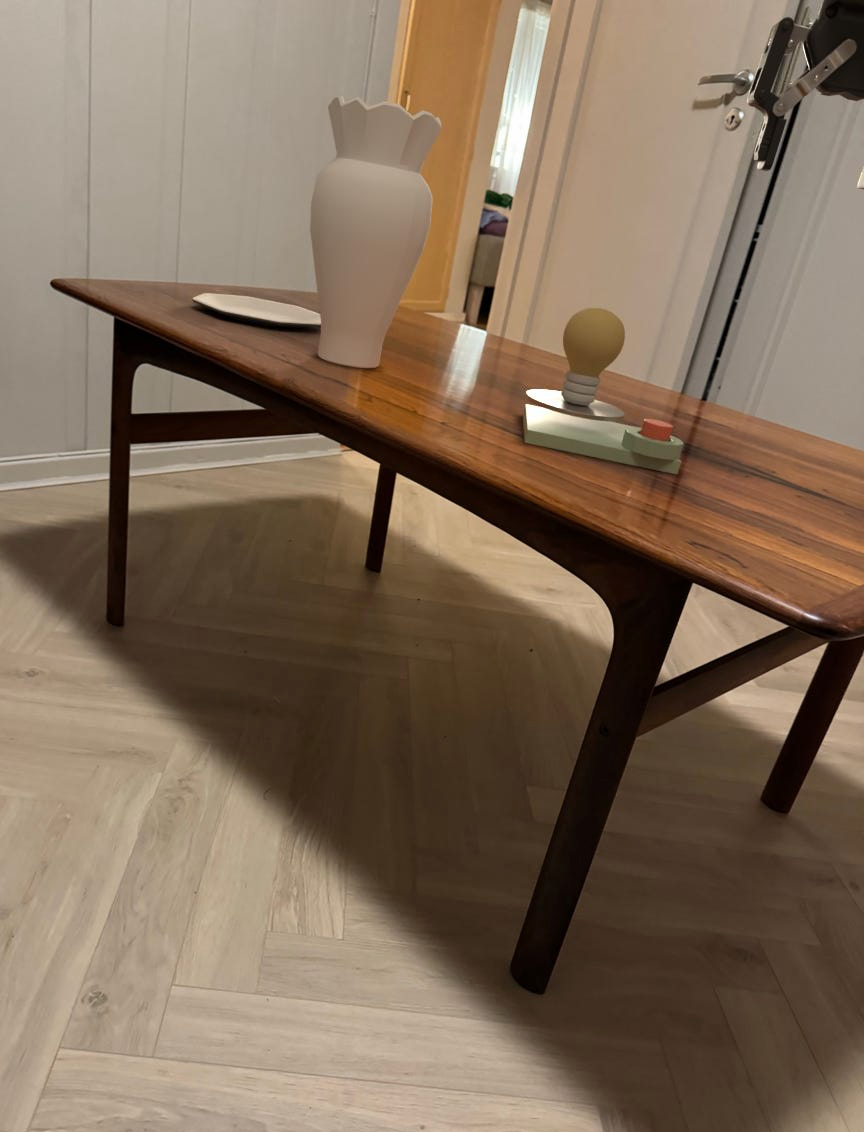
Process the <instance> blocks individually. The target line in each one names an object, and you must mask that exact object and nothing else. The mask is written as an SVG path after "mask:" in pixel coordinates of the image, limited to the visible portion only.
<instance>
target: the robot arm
mask: <svg viewBox="0 0 864 1132" xmlns="http://www.w3.org/2000/svg"><path fill="white" fill-rule="evenodd" d="M798 44H802V49H803V51H804V52H803V53H804V55H805V56H804V57H805V59H806V63H807V66H808V67H807V69H806V70H805V71H804V72H803V73H801V75H799V77H797V78H796V79H795V80H794V81H793V82H791V84H790V85H789V86H788V87H787V88H786V89H785V90H784V91H783V92H781V93H780V94H779V95H776V94H774V93H773V92H772V89H773V86H774V84H775V82H776V78H777V75H778V72H779V70H780V67H781V64H782V62H783V58H784V57H786V56H788V55H789V54H791V53H793V52H794V51H795V49H796V47H797V46H798ZM813 90H816V91H817V92H819V95H821V96H825V97H833V96H834V97H835V96H841V97H843V98H844V99H846V100H848V101H853V102H854V101H855V102H859V101H862V100H864V0H822V2H821V4H820V7H819V11H818V13H817V17H816V19H815V21H814V22H813V24H812V25H811V26H805V25H801V24H798V23H795V21H794V18H792V17H790V16H786V17H783V18H782V19H781V20H779V21H778V22H776V23H775V24H774V25H773V26H772V27H771V29H770V32H769V34H768V38H767V40H766V43H765V46H764V48H763V52H762V54H761V58H760V60H759V63H758V65H757V69H756V71H755V74H754V76H753V80H752V82H751V86H750V87H749V91H748V93H747V97H746V103H747V105H748V106H750V107H751V108H752V107H753V108H755V109H756V110H758V111H759V112H760V113H761V114H762V115H763V123H762V125H761V129H760V131H759V132H760V133H759V135H758V138H757V142H756V146H755V149H754V152H753V161H755V162H758V164H757V170H758V171H764V172H768V171H771V170H772V168H773V166H774V162H775V159H776V155H777V153H778V149H779V146H780V143H781V139H782V136H783V134H784V131H785V127H786V124H787V122H788V119H786V118H785V116H786V114H787V113H788V112H789V111H790V110H792V109H793V108H794V107H795V106H796V105H797V104H798V103H799V102H800V101H801V100H803V99H804V98H805V97H806V96H808V95H809V94H811V92H812V91H813ZM857 189H859V190H864V167H863V168H862V170H861V174H860V176H859V179H858V182H857Z"/></svg>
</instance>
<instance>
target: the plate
mask: <svg viewBox="0 0 864 1132" xmlns="http://www.w3.org/2000/svg"><path fill="white" fill-rule="evenodd" d="M191 301H192V302H193V303H194V304H197V305H199V306H201V307H204V308H207V309H209V310H212V311H214V312H216V313H217V314H221V315H222V316H223V315H224V316H226V317H228V318H230V319H233V320H237V321H241V322H246V323H251V324H256V325H262V326H266V327H274V328H288V329H289V328H291V329H303V328H309V327H312V328H313V327H315V328H321V318H320V313H318V312H316V311H313V310H310V309H307V308H304V307H302V306H299V305H294V304H290V303H289V304H288V303H283V302H278V301H273V300H268V299H263V298H258V297H253V296H246V295H235V294H223V293H212V292H204V293H201V294H199V295H196V296H194V297H192V298H191Z"/></svg>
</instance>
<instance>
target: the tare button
mask: <svg viewBox="0 0 864 1132" xmlns="http://www.w3.org/2000/svg"><path fill="white" fill-rule="evenodd" d="M641 428H642V429H641V432H640V435H642V436H644V437H648V438H651V439H655V440H660V441H668V442H669V439H670V435H671V436H672V432H673V428H674V426H673V425H672V424H671V423H668V422H665V421H662V420H660V419H654V418H645V419H644V420H643V422H642V426H641Z"/></svg>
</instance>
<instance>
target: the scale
mask: <svg viewBox="0 0 864 1132" xmlns="http://www.w3.org/2000/svg"><path fill="white" fill-rule="evenodd" d="M522 425H523V441H524V442H523V443H524V444H528V445H533V446H537V447H541V448H542V447H543V448H548V449H553V450H555V451H556V450H557V451H562V452H566V453H571V454H577V455H581V456H584V457H585V456H586V457H590V458H595V459H601V460H605V461H609V462H615V463H619V464H624V465H628V466H632V467H633V466H634V467H638V468H643V469H648V470H651V471H657V472H661V473H667V474H672V475H676V476H677V475H678V474H679V471H680V467H681V465H682V460H681V459H680V457H681V454H682V451H683V448H684V445H685V444H684V442H683V440H681V439H680V438H678V437H676V436H673V435H672V434H671V435H670V439H669V442H668V441H660V440H655V439H651V438H648V437H644V436H642V435H640V432H641V429H642V427H639V426H634V425H629V424H624V423H619V422H616V421H598V420H590V419H585V418H579V417H575V416H570V415H566V414H562V413H559V412H555V411H552V410H549V409H546V408H543V407H540V406H538V405H532V404H528V403H526V404H525V405H524V409H523V414H522Z"/></svg>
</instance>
